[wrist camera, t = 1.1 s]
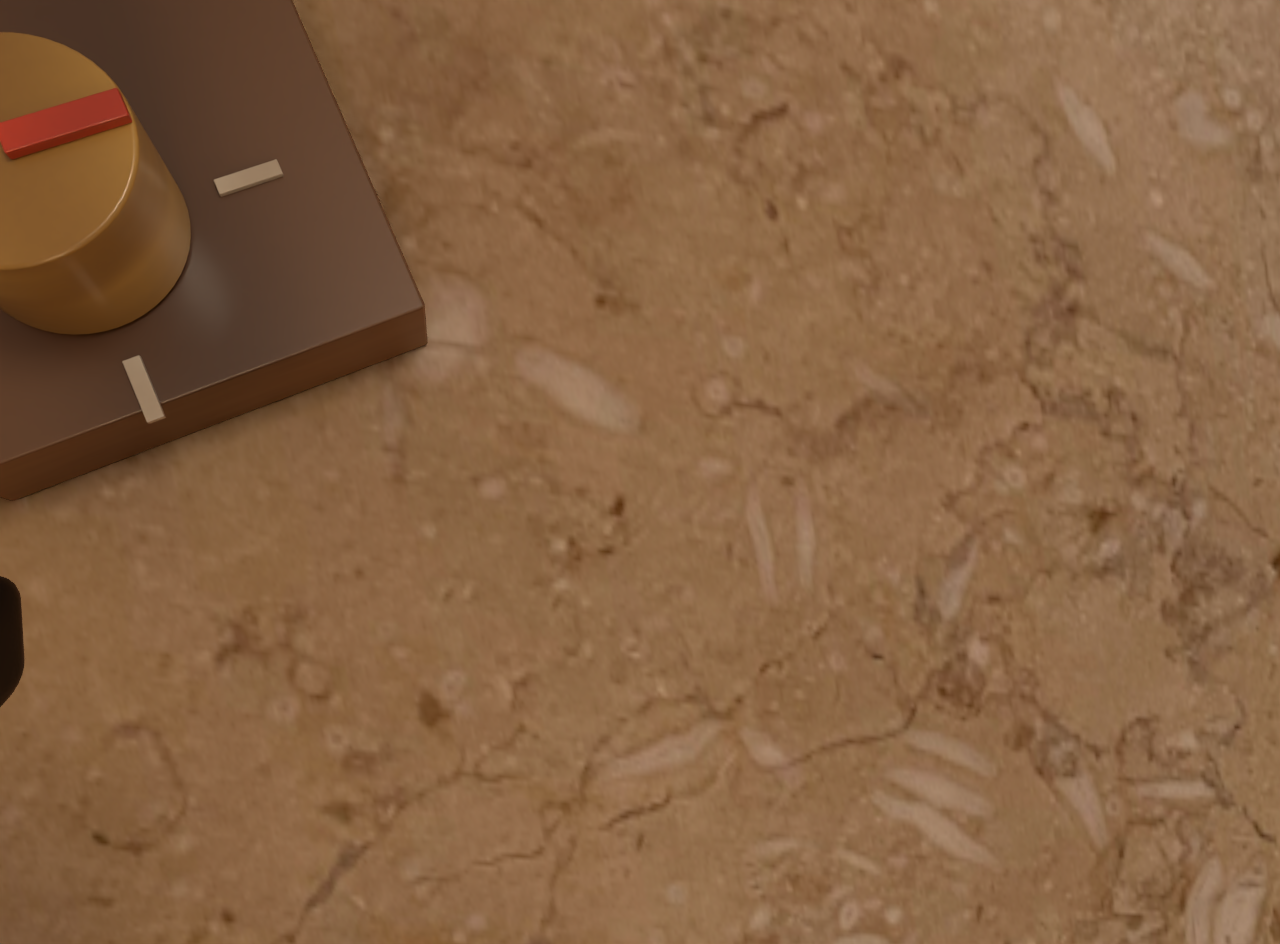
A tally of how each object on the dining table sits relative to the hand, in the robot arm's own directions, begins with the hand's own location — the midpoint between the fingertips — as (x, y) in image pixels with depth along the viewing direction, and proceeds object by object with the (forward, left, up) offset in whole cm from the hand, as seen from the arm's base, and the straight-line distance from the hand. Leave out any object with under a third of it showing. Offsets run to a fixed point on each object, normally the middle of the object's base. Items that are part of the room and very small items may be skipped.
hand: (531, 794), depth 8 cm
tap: (-4, +12, -15) cm, 19 cm away
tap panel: (-3, +13, -18) cm, 22 cm away
